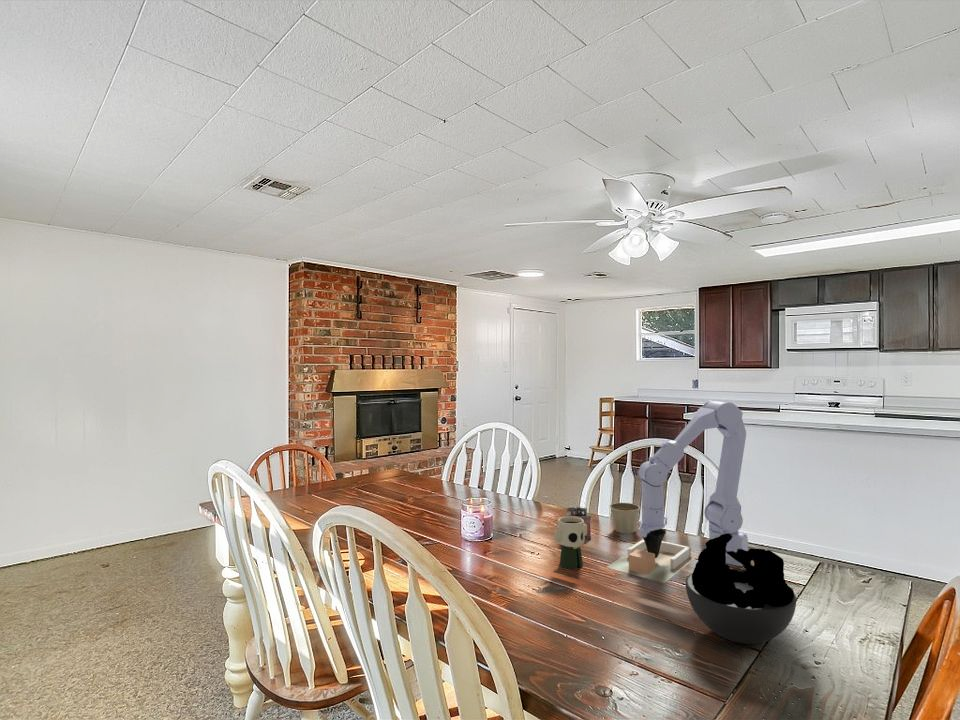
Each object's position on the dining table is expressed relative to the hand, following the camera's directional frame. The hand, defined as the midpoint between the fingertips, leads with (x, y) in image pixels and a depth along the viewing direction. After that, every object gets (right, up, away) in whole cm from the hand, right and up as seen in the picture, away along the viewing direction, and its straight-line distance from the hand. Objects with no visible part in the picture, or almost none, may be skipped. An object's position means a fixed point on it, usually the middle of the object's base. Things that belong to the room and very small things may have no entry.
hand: (653, 556), depth 147 cm
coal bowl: (+5, -2, -39) cm, 39 cm away
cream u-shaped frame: (+3, -1, +3) cm, 4 cm away
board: (-1, -2, -1) cm, 2 cm away
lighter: (-16, -3, +22) cm, 28 cm away
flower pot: (-1, -3, +27) cm, 27 cm away
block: (-5, -1, -6) cm, 7 cm away
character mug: (-23, -3, -2) cm, 23 cm away
